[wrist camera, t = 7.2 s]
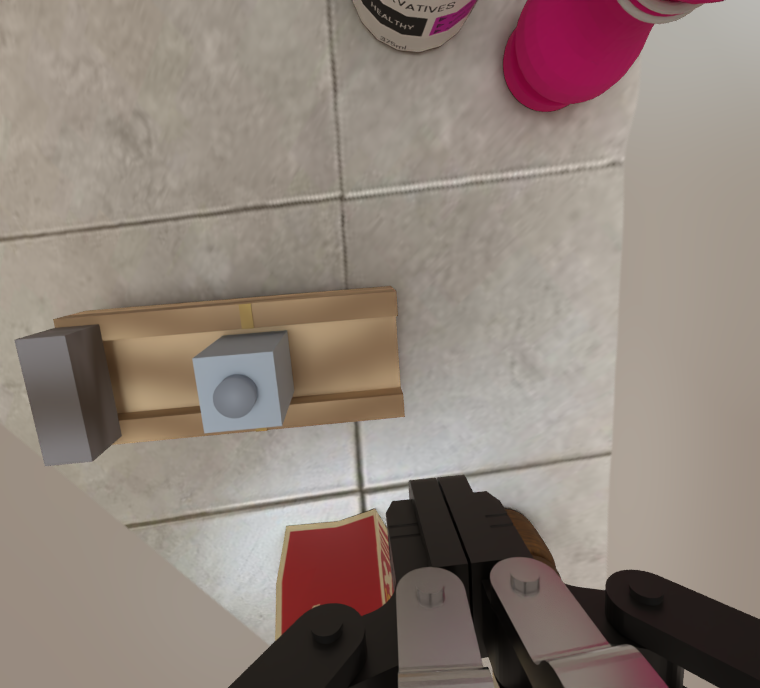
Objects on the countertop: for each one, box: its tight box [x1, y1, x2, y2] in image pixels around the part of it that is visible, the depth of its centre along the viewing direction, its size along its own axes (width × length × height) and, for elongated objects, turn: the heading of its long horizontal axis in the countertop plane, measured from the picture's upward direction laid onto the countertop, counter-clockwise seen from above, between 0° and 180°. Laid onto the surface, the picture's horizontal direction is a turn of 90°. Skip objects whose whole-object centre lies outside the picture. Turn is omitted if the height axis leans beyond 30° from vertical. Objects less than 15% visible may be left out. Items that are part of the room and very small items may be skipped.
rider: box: [192, 330, 294, 433], centre depth 27 cm, size 4×4×7 cm
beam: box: [15, 286, 405, 466], centre depth 31 cm, size 8×20×10 cm, turn 94°
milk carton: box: [275, 509, 394, 641], centre depth 30 cm, size 9×9×20 cm
